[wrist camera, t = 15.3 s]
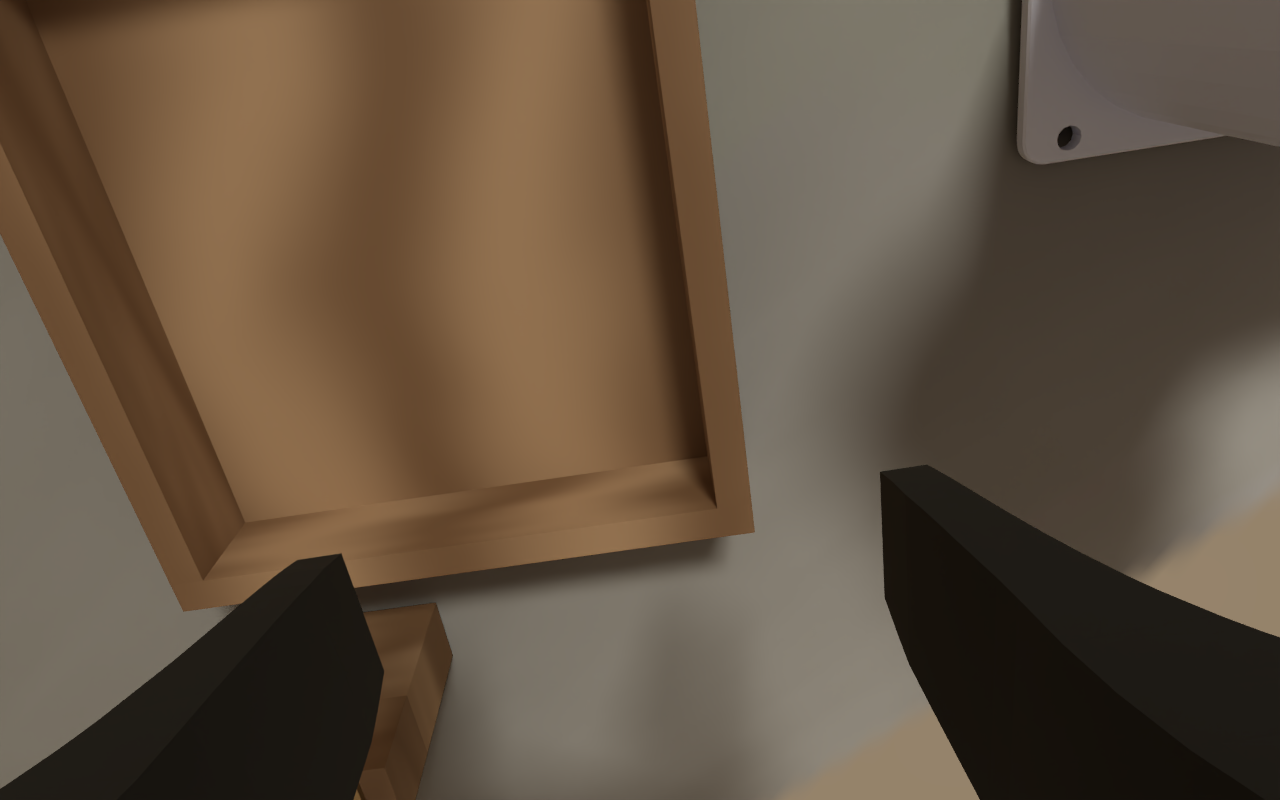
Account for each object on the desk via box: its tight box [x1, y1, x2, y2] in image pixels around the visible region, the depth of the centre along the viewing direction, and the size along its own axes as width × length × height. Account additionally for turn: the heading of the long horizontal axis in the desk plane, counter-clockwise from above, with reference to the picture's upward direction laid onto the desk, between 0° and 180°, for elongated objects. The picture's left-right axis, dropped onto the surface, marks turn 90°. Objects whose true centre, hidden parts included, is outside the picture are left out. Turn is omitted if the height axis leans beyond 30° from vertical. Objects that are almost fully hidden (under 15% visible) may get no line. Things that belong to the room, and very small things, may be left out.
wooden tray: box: [0, 0, 755, 800], centre depth 18 cm, size 14×21×6 cm, turn 9°
